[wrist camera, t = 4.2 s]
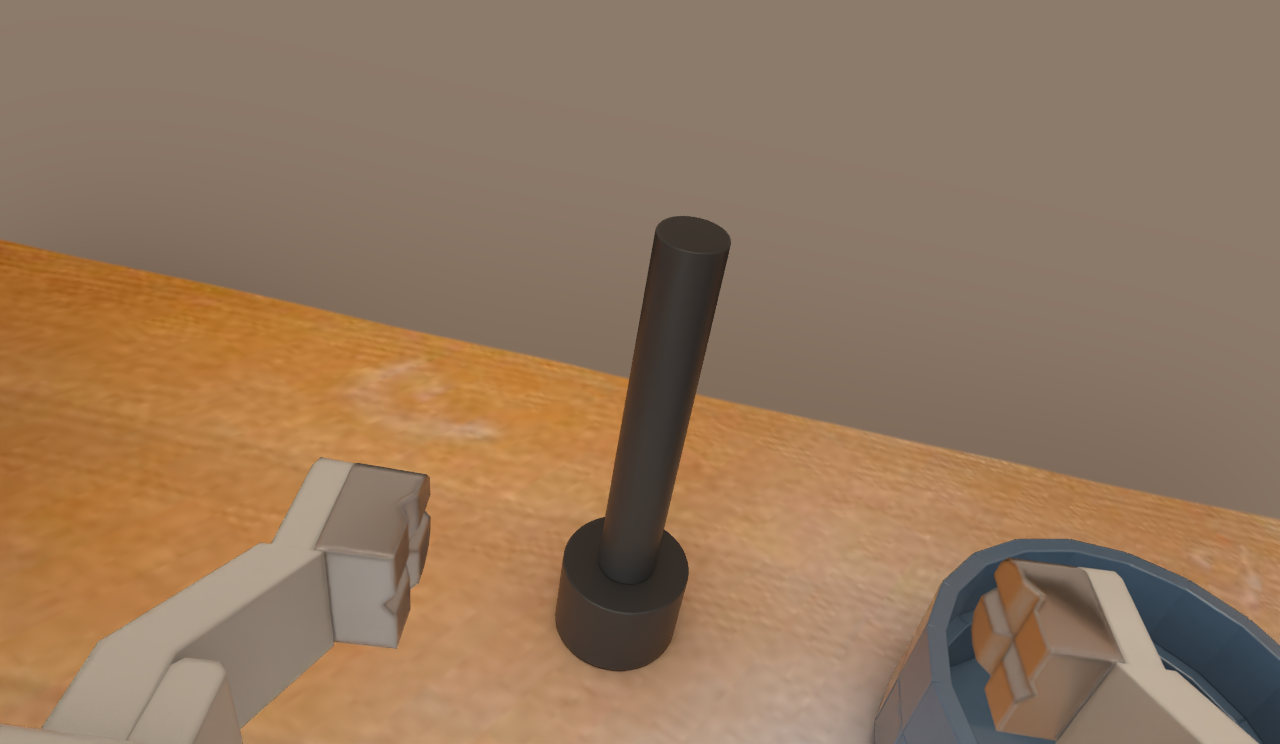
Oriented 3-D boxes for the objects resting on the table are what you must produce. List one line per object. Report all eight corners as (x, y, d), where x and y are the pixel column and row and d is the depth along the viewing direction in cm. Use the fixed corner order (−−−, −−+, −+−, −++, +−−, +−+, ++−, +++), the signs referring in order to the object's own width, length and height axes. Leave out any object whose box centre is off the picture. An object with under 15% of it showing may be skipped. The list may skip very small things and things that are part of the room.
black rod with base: (531, 631, 32) (578, 235, 23) (594, 554, 36) (658, 179, 26) (638, 693, 31) (736, 300, 21) (693, 607, 34) (800, 231, 25)
